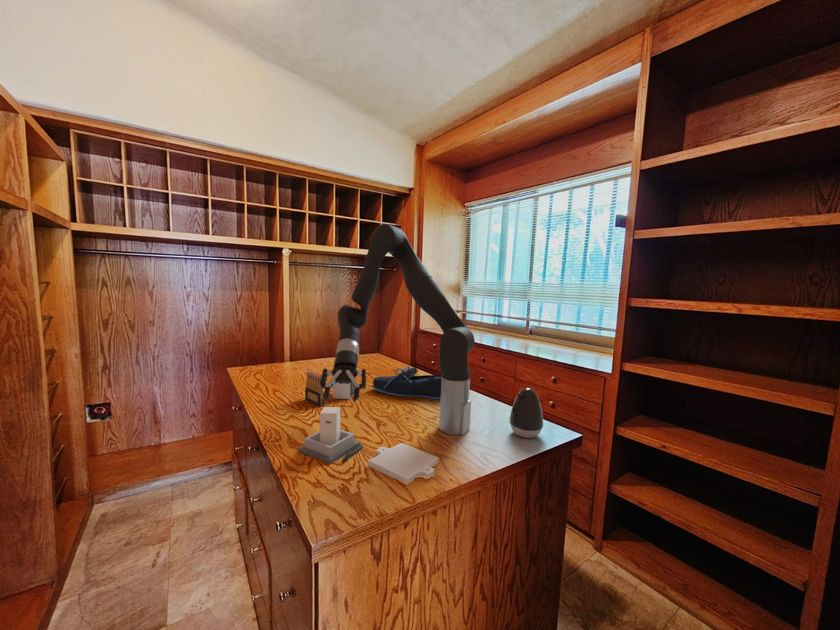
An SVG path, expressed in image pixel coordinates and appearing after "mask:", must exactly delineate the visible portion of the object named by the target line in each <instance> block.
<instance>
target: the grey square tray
mask: <svg viewBox="0 0 840 630" xmlns="http://www.w3.org/2000/svg"><path fill="white" fill-rule="evenodd" d="M355 436H356V435H355V433H353V432H349V431H346V430H343V429H340V441H338V442H336V443H335V444H333V445H331V446H330V445H327V444H324V443H321V442H320V430H318V431H317V432H314V433H313V434H311V435H309V436H307V437H304V442H303V443H304V444H303V445H301V446H298V447H297V452H299V453H301V454H303V455H307V456H309V457H312V458H314V459H317V460H319V461H321V462H325V463H327V464H330V465H331V464H333V463H334V462H336V461H338V460H339V459H341V458H344V457H345V456H346V455H348V454H349V453H350V452H352V451H353V450H354V449H356V448H357V447H358V446H360V445H361V443H362V442H361V441H358V440H355Z"/></svg>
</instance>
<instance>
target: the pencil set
mask: <svg viewBox="0 0 840 630" xmlns="http://www.w3.org/2000/svg"><path fill="white" fill-rule="evenodd" d="M321 377H322V374H320V373H317V372H315V371H312V370H310V369H308V370H307V372H306V381H305V383H306V384H305V387H304V389H305V394H304V400H305V401H306V400H307V401H306V402H308V401H309V402H308V403H310V402H311V404H312V403H313V404H312V405H314V404H315V406H316V405H317V407H318V406H319V408H322V407H325V398H324V392H325V391H324V388H323V389H322V388H321V386H320V381H321Z"/></svg>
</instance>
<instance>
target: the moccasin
mask: <svg viewBox="0 0 840 630" xmlns="http://www.w3.org/2000/svg"><path fill="white" fill-rule="evenodd" d="M399 370H401V372H399ZM398 372H399V373H398ZM417 373H418V369H417V368H416V367H415V366H414V367H410V365H406V366H405V367H404V368H403V369H402V367H397V369H396V370H395V373H394V374H395V375H389V376H375V377H374V378H373V380H372V389H374V390H375V391H377V392H380V393H382V394H387V395H392V396H396V397H412V396H414V397H415V398H428V399H433V400H440V393H441V373H437V374H426V375H425V374H424V375H416V374H417Z"/></svg>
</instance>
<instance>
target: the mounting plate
mask: <svg viewBox="0 0 840 630" xmlns="http://www.w3.org/2000/svg"><path fill="white" fill-rule="evenodd" d="M439 462H440V458H439V457H438V456H435V455H433V454H431V453H428V452H425V451H423V450H421V449H418V448H416V447H413V446H411V445H409V444H406V443H404V442H400V443H398V444H397V445H394V446H393V447H386V446H380V447H379V448H377V449H376V456H374V457H372V458H370V459H368V467H369V468H372V469H374V470H375V471H378V472H379V471H380V473H381V472H382V474H383V473H384V475H385V474H387V475H389V476H391V477H393V478H395V479H397V480H400V481H402V482H405V483H407V484H408V483H409V482H410V481H412V480H413V479H415V478H416V477H418V476H425V477H431V476H433V475H434V476H435V468H434V467H433V468H432V466H434V465H436V464H437V463H439ZM439 464H440V463H439ZM437 465H438V464H437ZM437 465H436V466H437ZM387 475H386V476H387ZM389 476H388V477H389ZM391 477H390V478H391ZM393 478H392V479H393ZM395 479H394V480H395ZM397 480H396V481H397Z"/></svg>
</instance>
